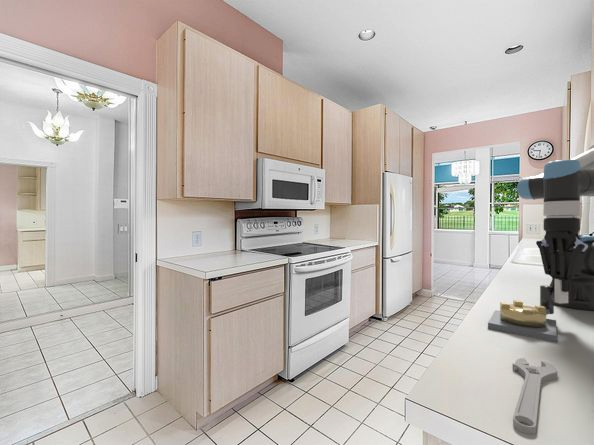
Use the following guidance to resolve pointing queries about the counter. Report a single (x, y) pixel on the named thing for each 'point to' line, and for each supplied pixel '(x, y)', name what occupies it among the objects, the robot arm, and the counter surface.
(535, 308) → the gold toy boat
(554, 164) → the robot arm
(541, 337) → the base
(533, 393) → the adjustable wrench
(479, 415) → the counter surface
